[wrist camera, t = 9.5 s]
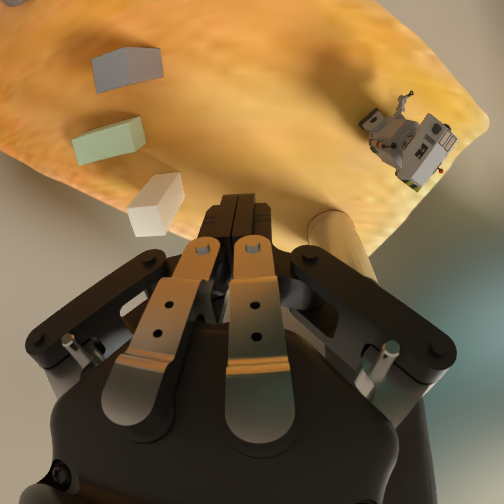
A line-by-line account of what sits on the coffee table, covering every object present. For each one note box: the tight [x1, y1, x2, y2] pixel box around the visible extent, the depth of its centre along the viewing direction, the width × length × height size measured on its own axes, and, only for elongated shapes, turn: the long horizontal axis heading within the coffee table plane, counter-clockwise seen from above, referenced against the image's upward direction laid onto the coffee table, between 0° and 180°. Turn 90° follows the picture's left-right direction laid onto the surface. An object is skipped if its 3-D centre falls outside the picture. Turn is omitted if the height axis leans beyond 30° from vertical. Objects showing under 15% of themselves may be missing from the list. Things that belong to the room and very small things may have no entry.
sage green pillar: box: [71, 116, 147, 166], centre depth 39 cm, size 5×5×12 cm
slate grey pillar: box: [91, 47, 164, 94], centre depth 29 cm, size 5×5×12 cm
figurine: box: [358, 91, 458, 192], centre depth 32 cm, size 9×12×15 cm
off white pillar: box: [126, 172, 185, 237], centre depth 43 cm, size 5×5×12 cm
